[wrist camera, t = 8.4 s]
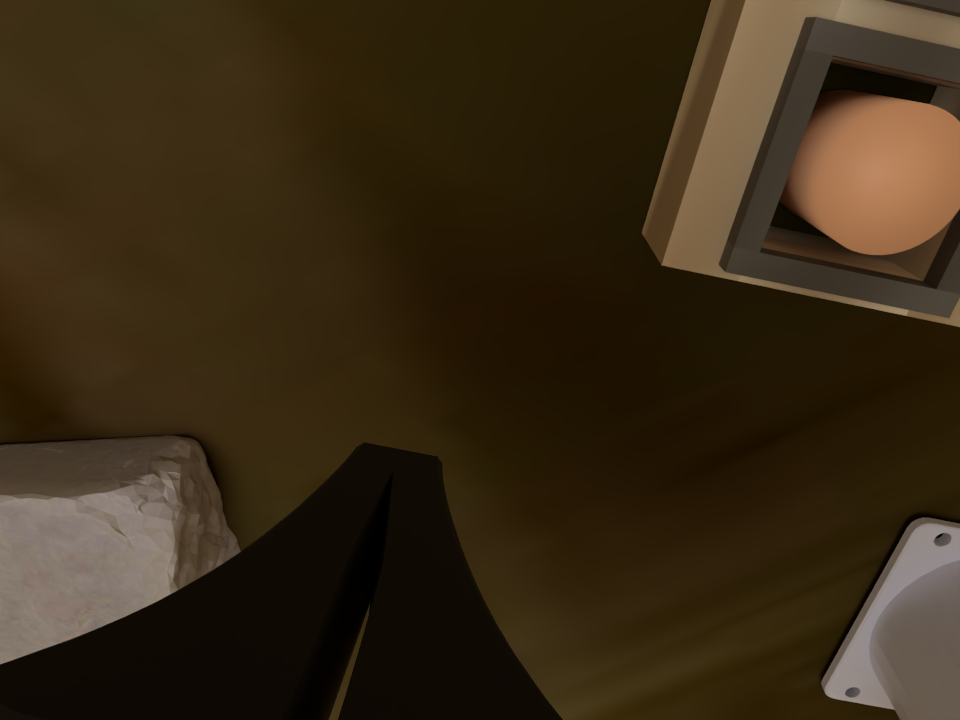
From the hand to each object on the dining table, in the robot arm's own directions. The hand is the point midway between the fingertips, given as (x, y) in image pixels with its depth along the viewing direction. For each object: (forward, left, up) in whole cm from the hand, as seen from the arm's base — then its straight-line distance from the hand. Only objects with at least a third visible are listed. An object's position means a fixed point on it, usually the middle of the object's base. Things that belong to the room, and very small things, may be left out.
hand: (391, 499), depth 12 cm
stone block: (+11, +12, -10) cm, 19 cm away
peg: (-9, -6, -9) cm, 14 cm away
